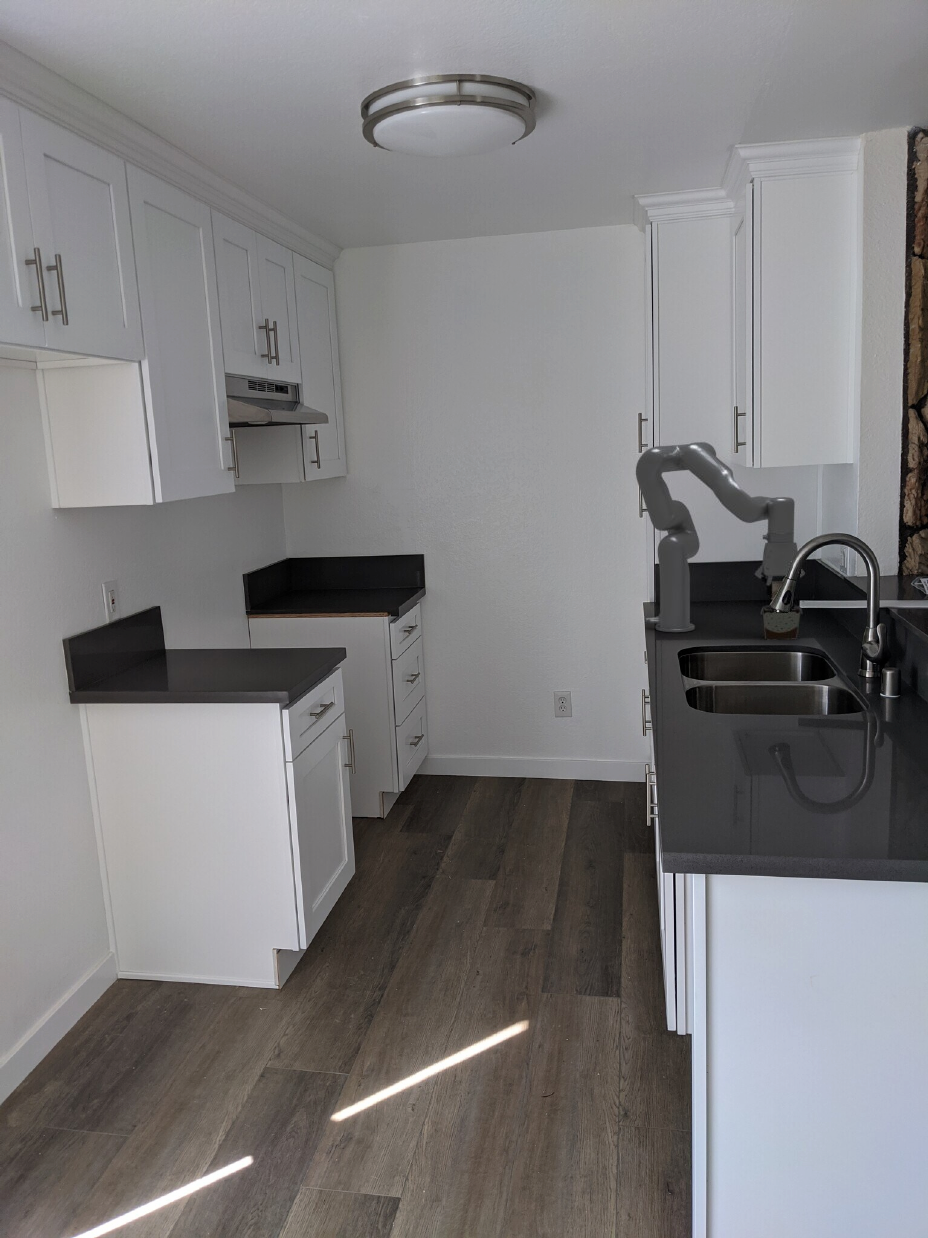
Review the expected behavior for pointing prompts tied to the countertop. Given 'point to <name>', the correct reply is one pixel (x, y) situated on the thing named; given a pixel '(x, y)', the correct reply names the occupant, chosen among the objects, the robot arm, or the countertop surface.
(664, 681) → the countertop surface
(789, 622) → the food container
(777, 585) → the maple block
